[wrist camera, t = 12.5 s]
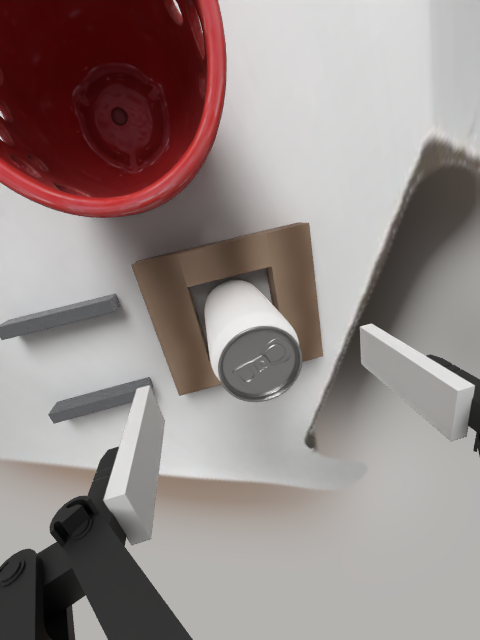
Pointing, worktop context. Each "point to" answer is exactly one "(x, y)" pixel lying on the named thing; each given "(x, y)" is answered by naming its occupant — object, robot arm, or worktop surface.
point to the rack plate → (217, 263)
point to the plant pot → (108, 100)
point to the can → (250, 343)
